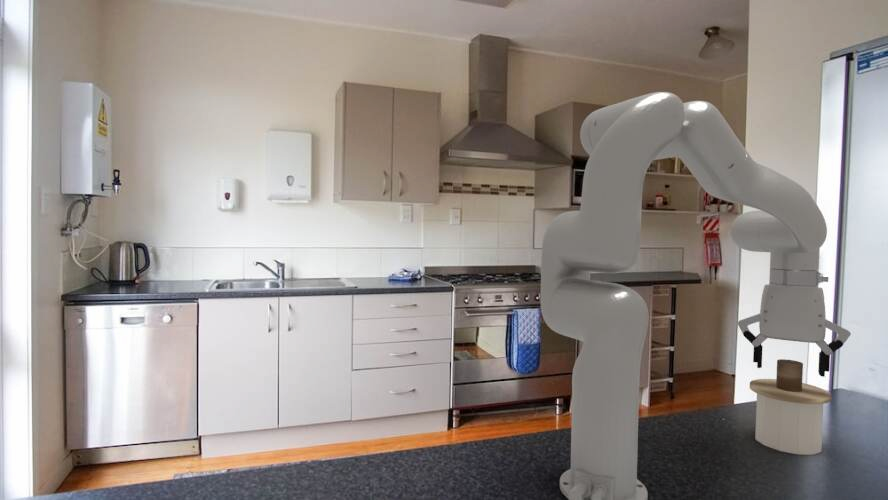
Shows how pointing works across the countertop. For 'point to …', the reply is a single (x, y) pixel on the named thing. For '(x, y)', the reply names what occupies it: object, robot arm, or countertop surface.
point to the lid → (790, 385)
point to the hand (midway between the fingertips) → (789, 370)
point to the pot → (789, 425)
